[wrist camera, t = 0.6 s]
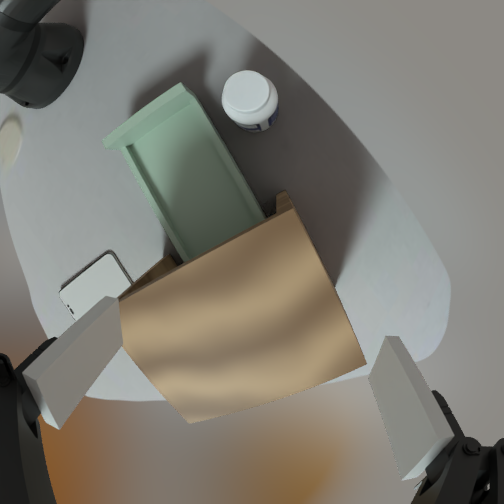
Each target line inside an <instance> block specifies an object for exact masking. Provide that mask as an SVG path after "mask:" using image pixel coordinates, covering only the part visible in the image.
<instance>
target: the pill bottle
mask: <svg viewBox="0 0 504 504" xmlns="http://www.w3.org/2000/svg"><path fill="white" fill-rule="evenodd" d="M222 105H223V108H224V110H225V112H226V113H227V115H228V116H229V117H230V118H231V119H232V120H233V121H234V122H235V123H236V124H237V125H238V126H239V127H240V128H242V129H243V130H245V131H248V132H261V131H264V130H266V129H268V128H269V127H270V126H272V125H273V123H274V122H275V120H276V118H277V115H278V94H277V90H276V88H275V86H274V85H273V83H272V82H271V81H270V80H269V79H268V78H266V77H264V76H262V75H261V74H259V73H258V72H255V71H251V70H244V71H239V72H237V73H235V74H233V75H232V76H231V77H230V78H229V79H228V80H227V81H226V83H225V86H224V90H223V93H222Z"/></svg>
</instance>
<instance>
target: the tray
mask: <svg viewBox="0 0 504 504" xmlns="http://www.w3.org/2000/svg"><path fill="white" fill-rule="evenodd" d="M102 143H103V145H104V147H105V149H110V150H121V152H122V154H123V156H124V158H125V159H126V161H127V163H128V165H129V167H130V169H131V171H132V173H133V175H134V176H135V178H136V180H137V182H138V184H139V186H140V187H141V189H142V191H143V193H144V195H145V197H146V198H147V200H148V202H149V204H150V205H151V207H152V209H153V211H154V213H155V214H156V216H157V218H158V219H159V221H160V223H161V225H162V226H163V228H164V230H165V232H166V233H167V235H168V237H169V238H170V240H171V242H172V243H173V245H174V247H175V248H176V250H177V252H178V253H179V255H180V257H181V258H182V260H183V261H184V263H185V262H187V261H189V260H190V259H192V258H194V257H196V256H198V255H199V254H201V253H203V252H205V251H207V250H209V249H210V248H212V247H214V246H216V245H218V244H220V243H222V242H223V241H225V240H227V239H229V238H231V237H233V236H235V235H236V234H238V233H240V232H242V231H244V230H246V229H248V228H249V227H251V226H253V225H255V224H257V223H259V222H261V221H263V220H265V219H266V218H267V217H266V216H265V214H264V212H263V210H262V208H261V207H260V205H259V203H258V201H257V199H256V198H255V196H254V194H253V192H252V191H251V189H250V187H249V185H248V183H247V182H246V180H245V178H244V176H243V175H242V173H241V171H240V169H239V168H238V166H237V164H236V162H235V161H234V159H233V157H232V155H231V154H230V152H229V150H228V148H227V147H226V145H225V143H224V142H223V140H222V138H221V136H220V135H219V133H218V131H217V130H216V128H215V126H214V125H213V123H212V121H211V119H210V118H209V116H208V114H207V113H206V111H205V109H204V108H203V106H202V104H201V103H200V101H199V99H198V98H197V96H196V94H194V93H193V92H192V91H191V90H190V89H189V88H187V87H186V86H185V85H184V84H183V83H181V82H180V83H178V84H177V85H175V86H174V87H172V88H171V89H169V90H168V91H166V92H165V93H163V94H162V95H160V96H159V97H157V98H156V99H155V100H153V101H152V102H150V103H149V104H148V105H146V106H145V107H143V108H142V109H141V110H139V111H138V112H137V113H135V114H134V115H133V116H131V117H130V118H129V119H128V120H126V121H125V122H124V123H123V124H121V125H120V126H119V127H118V128H116V129H115V130H114V131H113V132H111V133H110V134H109V135H108V136H107V137H106V138H104V139H103V140H102Z"/></svg>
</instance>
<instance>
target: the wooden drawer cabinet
mask: <svg viewBox="0 0 504 504" xmlns="http://www.w3.org/2000/svg"><path fill="white" fill-rule="evenodd" d="M117 298H118V301H119V312H120V321H121V329H122V337H123V345H122V347H123V348H124V350H125V351H126V352H127V354H128V355H129V356H130V357H131V359H132V360H133V361H134V363H135V364H136V365H137V366H138V367H139V369H140V370H141V371H142V372H143V374H144V375H145V376H146V377H147V378H148V379H149V381H150V382H151V383H152V384H153V385H154V386H155V388H156V389H157V390H158V391H159V392H160V393H161V394H162V395H163V396H164V398H165V399H166V400H167V401H168V402H169V403H170V404H171V405H172V406H173V407H174V408H175V409H176V410H177V411H178V413H180V415H181V416H182V417H184V419H186V421H187V422H188V423H194V422H198V421H203V420H207V419H212V418H216V417H220V416H224V415H228V414H231V413H235V412H239V411H243V410H246V409H249V408H253V407H256V406H260V405H263V404H266V403H269V402H272V401H275V400H278V399H281V398H284V397H287V396H290V395H293V394H296V393H299V392H301V391H304V390H307V389H309V388H312V387H315V386H317V385H320V384H322V383H325V382H327V381H330V380H332V379H334V378H337V377H339V376H342V375H344V374H346V373H348V372H351V371H353V370H355V369H357V368H359V367H362V366H364V365H366V364H367V363H366V360H365V358H364V355H363V353H362V350H361V348H360V345H359V343H358V340H357V338H356V335H355V333H354V331H353V328H352V326H351V324H350V321H349V319H348V317H347V314H346V312H345V310H344V307H343V305H342V303H341V300H340V298H339V296H338V294H337V291H336V289H335V287H334V285H333V283H332V281H331V279H330V277H329V274H328V272H327V270H326V268H325V266H324V264H323V262H322V260H321V258H320V256H319V254H318V252H317V250H316V248H315V246H314V244H313V242H312V240H311V238H310V236H309V234H308V232H307V230H306V228H305V226H304V224H303V222H302V220H301V218H300V217H299V215H298V213H297V211H296V209H295V207H294V205H293V203H292V201H291V200H290V198H289V196H288V194H287V192H286V190H284V191H282V192H280V193H278V194H276V214H274V215H272V216H270V217H268V218H266V219H265V220H263V221H261V222H259V223H257V224H255V225H253V226H251V227H249V228H248V229H246V230H244V231H242V232H240V233H238V234H236V235H235V236H233V237H231V238H229V239H227V240H225V241H223V242H222V243H220V244H218V245H216V246H214V247H212V248H210V249H209V250H207V251H205V252H203V253H201V254H199V255H198V256H196V257H194V258H192V259H190V260H189V261H187V262H185V263H183V264H181V265H179V266H177V265H176V263H175V262H174V260H173V258H172V257H171V255H170V254H169V255H167V256H165V257H163V258H162V259H161V260H160V261H158V262H157V263H156V264H155V265H154V266H153V267H151V268H150V269H149V270H148V271H147V272H146V273H144V274H143V275H142V276H141V277H140V278H139V279H137V280H136V281H135V282H134V283H133V284H132V285H131V286H129V287H128V288H127V289H126V290H125V291H124V292H123V293H121V294H120V295H119V296H118V297H117Z"/></svg>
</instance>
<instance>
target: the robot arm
mask: <svg viewBox="0 0 504 504" xmlns="http://www.w3.org/2000/svg"><path fill="white" fill-rule="evenodd" d="M59 1H60V0H0V93H2V94H5V95H6V96H8V97H9V98H11V99H12V100H14V101H15V102H17V103H18V104H20V105H21V106H23V107H26V108H33V109H40V108H43V107H46V106H48V105H49V104H51V103H52V102H53V101H55V100H56V99H57V98H58V97H59V96H60V95H61V94H62V93H63V92H64V90H65V89H66V88H67V86H68V85H69V83H70V82H71V80H72V78H73V77H74V75H75V73H76V71H77V68H78V66H79V63H80V60H81V57H82V52H83V38H82V35H81V33H80V32H79V30H77V29H76V28H74V27H72V26H71V25H68V24H65V23H38V22H39V21H40V20H41V19H42V18H43V17H44V16H45V15H46V14H47V13H48V12H49V11H50V10H51V9H52V8H53V7H54V6H55V5H56V4H57V3H58V2H59ZM122 345H123V337H122V329H121V321H120V312H119V301H118V298H113V297H109V296H105V297H104V298H102V299H101V300H100V301H99V302H98V303H97V304H95V305H94V306H93V307H92V308H91V309H90V310H89V311H87V312H86V313H85V314H84V315H83V316H82V317H81V318H80V319H78V320H77V321H76V322H75V323H74V324H73V325H72V326H71V327H70V328H68V329H67V330H66V331H65V332H64V333H63V334H62V335H61V336H60V337H59V338H56V337H53V338H51V339H49V340H46V341H45V342H44V343H42V344H41V345H40V346H39V347H38V349H36V350H35V351H34V352H33V354H31V355H29V356H28V357H27V358H26V359H25V360H24V361H23V362H22V363H21V364H20V365H19V366H18V367H17V368H16V369H15V370H14V369H13V366H12V364H11V362H10V359H9V358H8V356H7V355H5V354H2V353H0V504H57V503H56V500H55V497H54V493H53V490H52V486H51V482H50V478H49V474H48V470H47V465H46V461H45V455H44V451H43V444H42V438H41V431H40V424H39V421H38V419H37V417H38V416H39V415H40V414H42V416H43V418H44V420H45V422H46V423H48V424H50V425H52V426H54V427H55V428H57V429H60V428H61V427H62V426H63V424H64V423H65V421H66V420H67V419H68V417H69V416H70V414H71V413H72V412H73V410H74V409H75V407H76V406H77V405H78V403H79V402H80V400H81V399H82V398H83V396H84V395H85V394H86V392H87V391H88V390H89V388H90V387H91V386H92V384H93V383H94V381H95V380H96V379H97V377H98V376H99V375H100V373H101V372H102V371H103V370H104V368H105V367H106V366H107V364H108V363H109V362H110V360H111V359H112V358H113V356H114V355H115V354H116V353H117V351H118V350H119V349H120V347H121V346H122ZM368 379H369V382H370V385H371V387H372V390H373V393H374V396H375V399H376V401H377V404H378V407H379V410H380V413H381V416H382V419H383V422H384V425H385V428H386V431H387V434H388V436H389V440H390V444H391V447H392V450H393V453H394V456H395V460H396V463H397V467H398V470H399V473H400V477H401V480H406V479H411V478H416V477H418V476H419V475H420V474H421V473H422V472H423V471H424V470H426V473H427V476H426V477H425V478H424V479H423V480H422V481H421V482H420V483H419V484H417V485H416V486H415V488H414V489H415V490H416V489H417V488H418V487H419V486H420V487H419V489H418V491H417V493H416V495H415V497H414V499H413V501H412V502H411V504H504V438H502V439H500V440H499V441H498V442H497V443H496V444H495V445H494V446H493V447H483V446H481V444H480V443H479V442H478V441H477V440H476V439H474V438H471V437H465V436H464V434H463V432H462V430H461V428H460V426H459V424H458V422H457V420H456V419H455V417H454V415H453V414H452V411H451V410H450V408H449V407H448V404H447V402H446V401H445V399H444V397H443V396H441V394H439V393H438V392H437V391H436V390H433V391H431V390H430V388H429V387H428V385H427V383H426V381H425V379H424V378H423V376H422V374H421V373H420V371H419V369H418V368H417V366H416V364H415V362H414V361H413V359H412V357H411V356H410V354H409V352H408V351H407V349H406V347H405V346H404V344H403V343H402V341H401V339H400V338H399V336H385V339H384V341H383V344H382V347H381V349H380V352H379V354H378V357H377V359H376V361H375V364H374V366H373V368H372V371H371V373H370V375H369V378H368ZM489 483H490V489H489V490H487V485H488V484H489Z"/></svg>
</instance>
